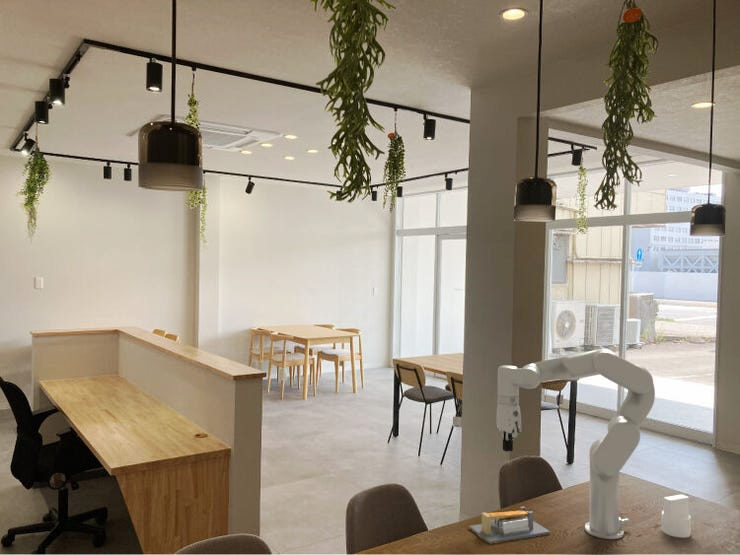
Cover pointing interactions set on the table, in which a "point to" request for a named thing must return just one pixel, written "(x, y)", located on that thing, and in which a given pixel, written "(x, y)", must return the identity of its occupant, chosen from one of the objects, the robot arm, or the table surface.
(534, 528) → the cpu board
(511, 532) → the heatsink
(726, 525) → the table surface
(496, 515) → the strap
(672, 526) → the white tapered canister
